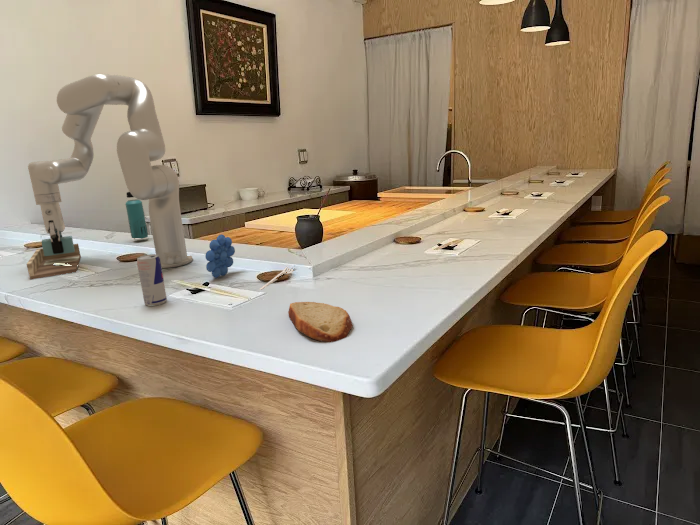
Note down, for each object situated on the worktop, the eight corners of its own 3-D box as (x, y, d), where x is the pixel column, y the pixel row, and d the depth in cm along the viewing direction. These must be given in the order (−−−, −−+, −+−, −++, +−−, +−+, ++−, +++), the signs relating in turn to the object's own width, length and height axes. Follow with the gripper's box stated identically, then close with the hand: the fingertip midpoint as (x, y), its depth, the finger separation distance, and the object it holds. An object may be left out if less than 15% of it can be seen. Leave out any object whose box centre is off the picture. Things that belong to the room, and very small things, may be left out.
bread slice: (295, 307, 121) (293, 292, 120) (368, 312, 115) (367, 296, 114) (257, 338, 105) (255, 321, 104) (340, 346, 99) (339, 327, 98)
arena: (76, 272, 166) (73, 257, 165) (30, 279, 161) (26, 264, 160) (80, 256, 188) (78, 243, 186) (40, 262, 183) (36, 249, 181)
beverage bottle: (143, 242, 205) (134, 192, 200) (128, 242, 206) (119, 193, 201) (152, 238, 211) (144, 189, 206) (137, 239, 213) (129, 190, 207)
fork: (254, 292, 136) (254, 285, 135) (287, 269, 154) (286, 263, 153) (266, 292, 135) (265, 286, 134) (297, 269, 153) (296, 263, 152)
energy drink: (171, 300, 132) (164, 254, 129) (156, 307, 127) (147, 260, 124) (155, 298, 134) (148, 253, 131) (140, 305, 129) (131, 259, 126)
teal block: (44, 256, 174) (41, 242, 173) (45, 253, 178) (42, 239, 177) (74, 252, 178) (71, 237, 177) (74, 249, 182) (71, 235, 180)
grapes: (225, 269, 157) (220, 230, 154) (242, 270, 154) (237, 231, 151) (197, 280, 148) (191, 239, 144) (216, 282, 144) (210, 240, 141)
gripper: (58, 200, 167) (69, 254, 172) (62, 194, 182) (73, 245, 187) (31, 203, 164) (44, 258, 169) (38, 197, 179) (49, 248, 184)
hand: (59, 251), depth 178 cm, fingers closed on teal block, 4 cm apart
